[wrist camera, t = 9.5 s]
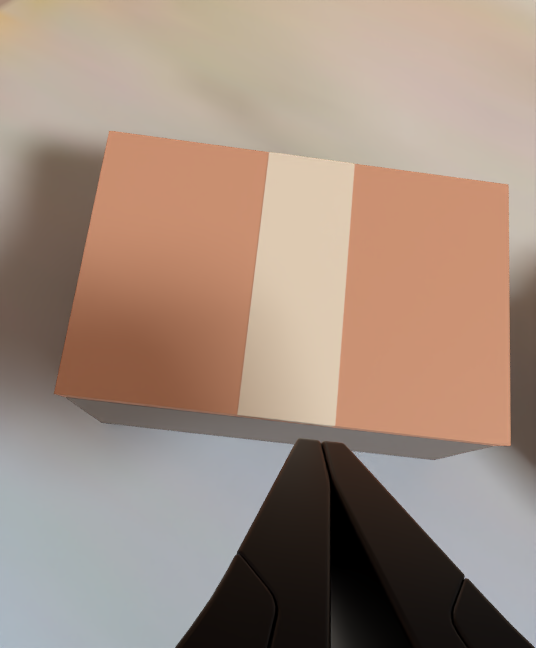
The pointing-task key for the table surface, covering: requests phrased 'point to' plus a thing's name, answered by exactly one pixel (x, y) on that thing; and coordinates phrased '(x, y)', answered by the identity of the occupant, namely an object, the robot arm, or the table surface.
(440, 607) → the robot arm
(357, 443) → the storage box
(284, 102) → the table surface
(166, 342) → the lid
